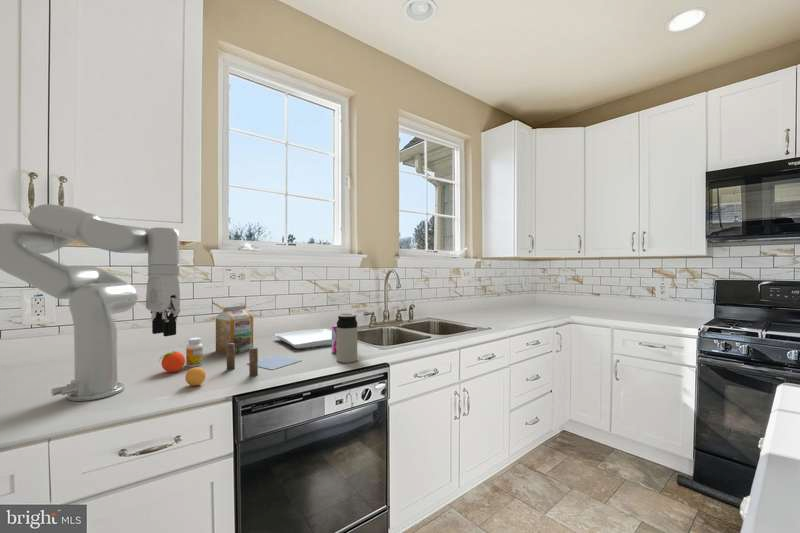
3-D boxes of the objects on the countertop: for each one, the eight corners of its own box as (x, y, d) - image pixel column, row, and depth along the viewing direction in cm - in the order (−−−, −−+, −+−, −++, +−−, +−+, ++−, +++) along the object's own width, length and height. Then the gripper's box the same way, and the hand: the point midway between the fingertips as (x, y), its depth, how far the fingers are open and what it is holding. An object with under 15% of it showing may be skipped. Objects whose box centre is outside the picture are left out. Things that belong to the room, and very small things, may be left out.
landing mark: (272, 370, 129) (272, 369, 129) (246, 364, 136) (246, 363, 136) (301, 360, 141) (301, 360, 141) (277, 355, 148) (277, 355, 148)
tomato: (163, 377, 121) (163, 355, 120) (154, 373, 125) (154, 352, 124) (188, 371, 127) (188, 350, 127) (179, 367, 131) (179, 347, 131)
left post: (229, 370, 128) (229, 344, 128) (225, 369, 129) (225, 344, 129) (236, 368, 130) (236, 343, 130) (231, 367, 132) (231, 342, 131)
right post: (252, 376, 121) (252, 349, 121) (247, 375, 123) (247, 348, 123) (259, 374, 124) (259, 348, 123) (254, 373, 125) (254, 347, 125)
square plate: (294, 352, 155) (294, 343, 155) (273, 341, 177) (273, 333, 177) (350, 344, 171) (350, 336, 171) (325, 334, 193) (325, 327, 193)
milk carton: (230, 355, 149) (230, 308, 148) (215, 351, 155) (215, 306, 154) (253, 349, 158) (253, 305, 157) (238, 346, 163) (238, 304, 163)
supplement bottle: (184, 364, 135) (184, 338, 134) (200, 362, 138) (200, 336, 138) (188, 368, 131) (188, 340, 131) (204, 365, 135) (204, 338, 134)
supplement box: (331, 353, 152) (331, 326, 152) (337, 350, 158) (338, 323, 158) (343, 354, 150) (343, 327, 150) (350, 351, 156) (350, 324, 156)
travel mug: (339, 364, 137) (339, 316, 136) (334, 358, 144) (334, 313, 144) (359, 362, 140) (359, 315, 139) (354, 357, 147) (354, 312, 147)
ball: (191, 389, 109) (191, 371, 109) (181, 386, 112) (181, 368, 112) (209, 384, 114) (209, 366, 114) (199, 381, 117) (199, 364, 117)
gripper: (134, 270, 106) (135, 333, 106) (165, 272, 97) (165, 340, 97) (162, 270, 112) (162, 329, 113) (193, 271, 103) (194, 335, 104)
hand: (164, 333), depth 105 cm, fingers open, 5 cm apart
